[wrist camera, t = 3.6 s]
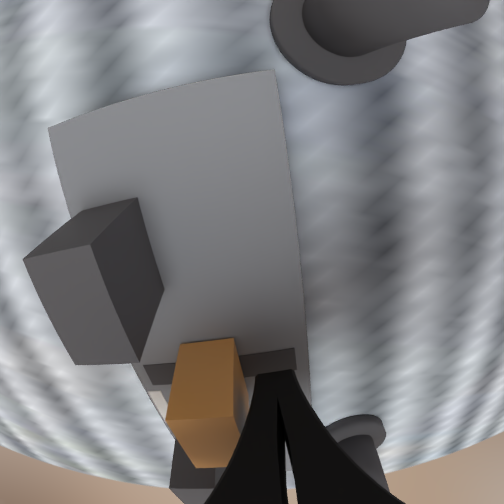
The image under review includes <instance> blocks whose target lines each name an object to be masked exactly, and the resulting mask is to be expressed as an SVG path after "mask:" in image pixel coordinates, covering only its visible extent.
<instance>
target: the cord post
mask: <svg viewBox="0 0 504 504" xmlns="http://www.w3.org/2000/svg"><path fill="white" fill-rule="evenodd" d="M326 429H327V430H328V432H329V433H330V434H331V436H332V437H333V438H334V439H335V441H336V442H337V443H338V444H339V445H340V446H341V448H342V449H343V450H344V451H345V452H346V453H347V454H348V455H349V456H350V458H351V459H352V460H353V461H354V462H355V463H356V464H357V465H358V466H359V467H360V468H361V469H363V470H364V471H365V472H366V473H367V474H368V475H369V476H370V477H371V478H373V479H374V480H375V481H376V482H377V483H378V484H380V485H381V486H382V487H383V488H385V489H386V490H387V491H388V492H389V488H388V485H387V481H386V478H385V475H384V472H383V469H382V466H381V463H380V459H379V456H378V453H377V450H376V448H378V447H379V446H380V445H381V444H382V443H383V441H384V440H385V437H386V432H385V429H384V427H383V424H382V421H381V420H380V419H379V418H378V417H376V416H373V415H357V416H352V417H348V418H345V419H342V420H339V421H337V422H335V423H333V424H331V425H329V426H328V427H326Z"/></svg>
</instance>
